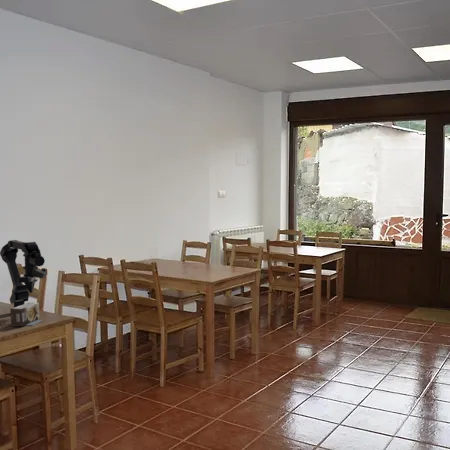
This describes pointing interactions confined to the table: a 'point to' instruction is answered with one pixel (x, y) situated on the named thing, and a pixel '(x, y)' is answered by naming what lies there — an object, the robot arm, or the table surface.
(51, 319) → the table surface
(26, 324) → the mat
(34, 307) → the coffee box
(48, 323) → the table surface
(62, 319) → the table surface
